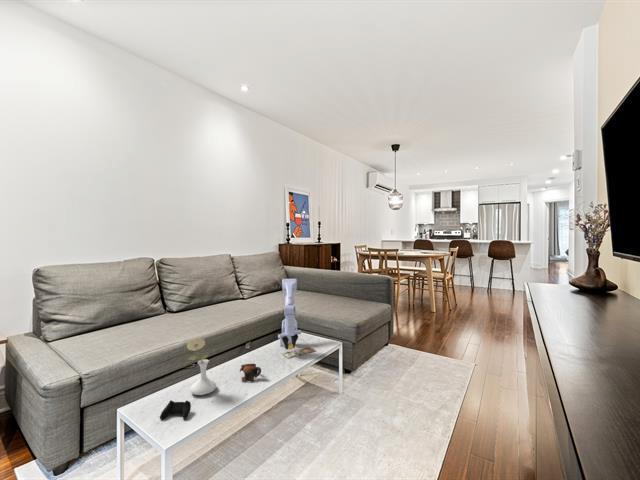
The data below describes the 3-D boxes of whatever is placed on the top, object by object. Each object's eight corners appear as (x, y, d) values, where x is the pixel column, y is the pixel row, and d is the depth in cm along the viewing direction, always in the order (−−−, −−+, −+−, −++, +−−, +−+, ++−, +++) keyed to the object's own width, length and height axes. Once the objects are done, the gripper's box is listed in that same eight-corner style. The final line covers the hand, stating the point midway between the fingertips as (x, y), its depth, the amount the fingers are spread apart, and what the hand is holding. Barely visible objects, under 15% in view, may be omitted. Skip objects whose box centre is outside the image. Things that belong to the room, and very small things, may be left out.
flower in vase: (218, 384, 147) (218, 332, 146) (214, 396, 135) (214, 341, 135) (189, 386, 144) (189, 334, 144) (183, 399, 133) (183, 342, 133)
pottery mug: (235, 383, 149) (236, 365, 153) (245, 383, 157) (245, 366, 161) (257, 379, 146) (257, 361, 150) (266, 380, 154) (266, 363, 158)
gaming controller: (189, 422, 121) (194, 402, 126) (186, 418, 118) (191, 399, 123) (162, 421, 121) (168, 402, 126) (158, 418, 118) (164, 399, 122)
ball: (285, 350, 178) (285, 343, 178) (287, 348, 182) (287, 341, 182) (292, 350, 178) (292, 344, 178) (293, 348, 182) (293, 341, 182)
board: (287, 360, 175) (287, 354, 175) (280, 355, 182) (280, 349, 182) (316, 353, 186) (316, 347, 186) (308, 348, 194) (308, 343, 194)
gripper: (281, 329, 173) (281, 352, 173) (303, 325, 181) (303, 347, 181) (276, 326, 179) (276, 349, 179) (297, 322, 187) (297, 344, 187)
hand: (289, 348), depth 180 cm, fingers closed on ball, 4 cm apart
